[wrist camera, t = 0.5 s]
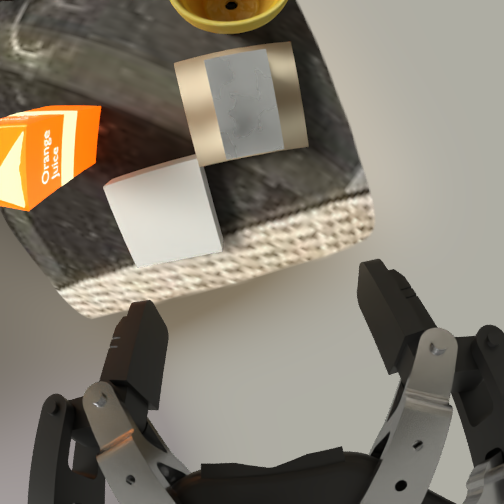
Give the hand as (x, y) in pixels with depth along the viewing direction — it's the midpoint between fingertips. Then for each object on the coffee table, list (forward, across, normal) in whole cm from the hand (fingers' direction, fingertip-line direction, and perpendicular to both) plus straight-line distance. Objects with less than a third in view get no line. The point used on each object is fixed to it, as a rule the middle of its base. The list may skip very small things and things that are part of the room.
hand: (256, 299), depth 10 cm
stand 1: (+24, +11, +6) cm, 27 cm away
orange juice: (+25, +21, -8) cm, 34 cm away
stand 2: (+25, -1, -5) cm, 25 cm away
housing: (+22, -1, -5) cm, 23 cm away
